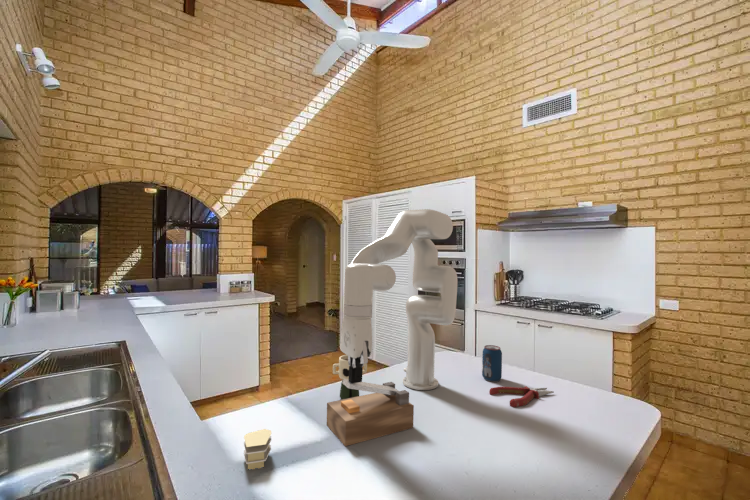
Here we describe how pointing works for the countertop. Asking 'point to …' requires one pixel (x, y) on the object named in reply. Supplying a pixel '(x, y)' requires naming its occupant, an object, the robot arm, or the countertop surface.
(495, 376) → the soda can
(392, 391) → the latch lever
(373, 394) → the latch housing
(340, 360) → the character mug
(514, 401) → the pliers
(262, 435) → the pale yellow faceted block
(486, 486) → the countertop surface
